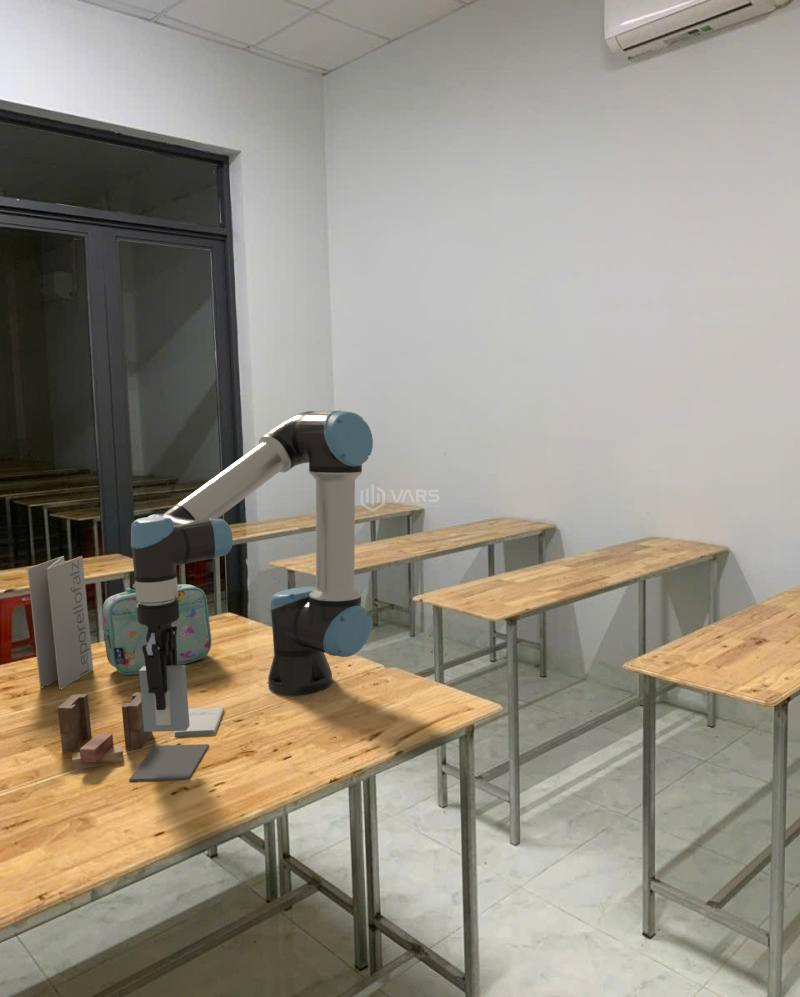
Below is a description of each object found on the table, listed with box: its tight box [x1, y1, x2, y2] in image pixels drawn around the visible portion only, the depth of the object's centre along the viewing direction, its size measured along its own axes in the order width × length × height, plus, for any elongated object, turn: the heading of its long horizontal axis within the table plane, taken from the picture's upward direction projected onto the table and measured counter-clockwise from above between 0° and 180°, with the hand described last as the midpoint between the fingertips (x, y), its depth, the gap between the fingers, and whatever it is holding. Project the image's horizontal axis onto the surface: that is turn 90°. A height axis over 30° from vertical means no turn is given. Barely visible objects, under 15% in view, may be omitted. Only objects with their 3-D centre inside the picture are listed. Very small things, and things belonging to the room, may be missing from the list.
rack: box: [57, 691, 153, 752], centre depth 167 cm, size 16×8×9 cm, turn 88°
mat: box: [128, 743, 210, 782], centre depth 157 cm, size 11×14×1 cm
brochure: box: [27, 555, 94, 690], centre depth 204 cm, size 14×6×30 cm, turn 168°
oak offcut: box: [71, 745, 124, 771], centre depth 159 cm, size 9×3×2 cm, turn 108°
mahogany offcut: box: [79, 733, 115, 762], centre depth 158 cm, size 7×3×2 cm, turn 172°
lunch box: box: [101, 583, 212, 676], centre depth 212 cm, size 27×10×21 cm, turn 120°
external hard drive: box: [174, 706, 225, 738], centre depth 175 cm, size 2×8×12 cm
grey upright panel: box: [138, 664, 190, 733], centre depth 155 cm, size 8×2×12 cm, turn 88°
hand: (166, 720), depth 156 cm, fingers closed on grey upright panel, 2 cm apart
